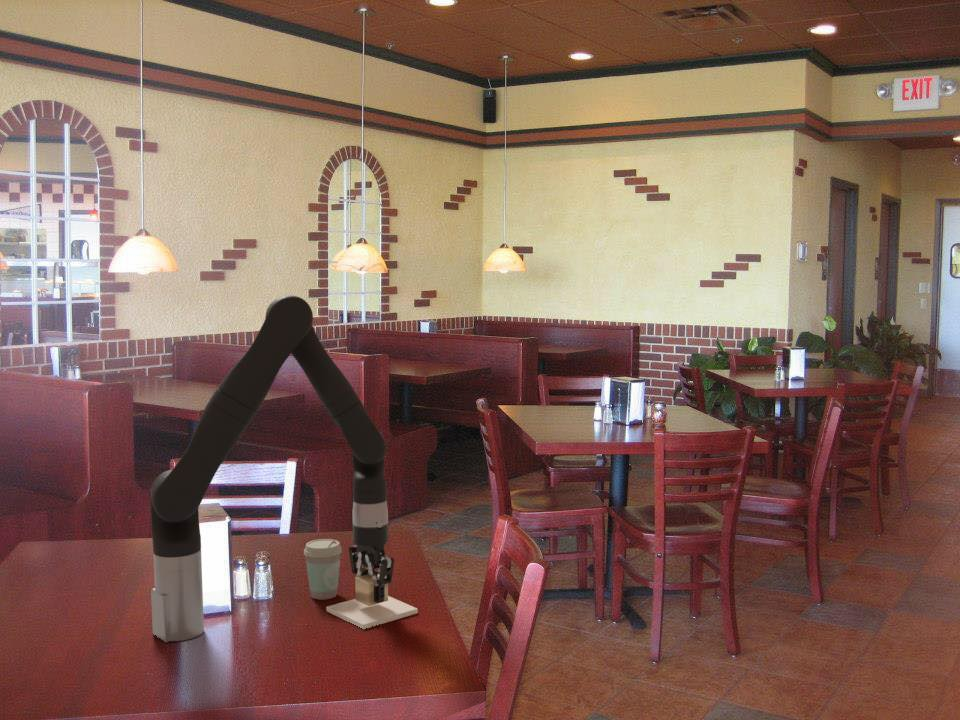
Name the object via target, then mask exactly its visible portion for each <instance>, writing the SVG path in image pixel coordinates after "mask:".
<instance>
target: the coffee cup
mask: <svg viewBox="0 0 960 720" xmlns="http://www.w3.org/2000/svg"><path fill="white" fill-rule="evenodd" d="M342 552H343V550H342V546H341V543H340V541H338V540H336V539H332V538H321V539H320V538H319V539H314V540H311V541H308V542H306V544H305V548H304V549H303V555H304V556H305V565H306V571H307V578H308V585H309V592H310V597H311V598H312V599H314V600H318V601H319V600H321V601H322V600H325V601H326V600H331V599H333V598H335V597H336V596H338V586H339V578H340V577H339V576H340V564H341V555H342Z"/></svg>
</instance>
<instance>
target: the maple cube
mask: <svg viewBox="0 0 960 720" xmlns="http://www.w3.org/2000/svg"><path fill="white" fill-rule="evenodd" d="M379 576H380V574H378V575H377V577H378V580H379ZM385 577H386V578H387V576H385ZM354 579H355V580H354V582H355V584H354V585H355V588H354V589H355V599H356V600H357V601H359V602H361V603H363V604H365V605H368V606H371V605H375V604H378V603H376V602H374V586H375V585H374V582H373V577H372V576H371V575H370V573H369V574H367V575H363V576H359V577H357V576H355V577H354ZM384 589H385V598H384V601H383V602H385V601H388V596H389V584H385V586H384ZM380 603H382V602H380Z"/></svg>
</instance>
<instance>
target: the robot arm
mask: <svg viewBox="0 0 960 720" xmlns="http://www.w3.org/2000/svg"><path fill="white" fill-rule="evenodd" d="M313 313H314V312H313V310H312V307H311V306H310V305H309V303H308V302H307V301H306V300H305V299H304V298H301V297H300V296H297V295H283V296H280V297H277V298H276V299H274V300H273V301H272V302H271V303H270V304H269V305H268V306H267V308H266V312H265V319H264V320H263V321H264V322H263V324H262V325H261V327H260V329H259V331H258V333H257V334H256V337H255V338H254V340H253V342H252V344H251V345H250V346H249V348H248V350H247V351H246V352H245V354H244V355H242V357H241V358H240V359H239V360H238V361H237V363H236V364H235V365H234V366H233V367H232V368H231V369H230V370H229V371H228V373H227V374H226V375H225V376H224V378H223V379H222V381H221V382H220V383H219V385H218V386H217V388H216V389H215V391H214V392H213V394H212V395H211V397H210V398H209V401H207V404H206V405H205V407H204V409H203V411H202V413H201V416H200V417H199V420H198V422H197V425H196V426H195V429H194V431H193V433H192V434H193V435H192V437H191V440H190V442H189V444H188V446H187V448H186V450H185V452H184V453H183V455H182V456H181V457H180V459H179V460H178V461H177V463H176V465H174V467H173V468H172V469H169V470H166V471H163V472H161V473H160V474H159V475H158V476H156V478H155V479H154V481H153V482H152V484H151V488H150V495H149V498H150V499H149V500H150V520H151V535H152V536H151V537H152V551H153V552H152V553H153V574H154V575H153V576H154V587H153V588H151V590H150V596H151V597H150V598H151V599H150V600H151V619H152V620H151V621H152V622H151V623H152V624H151V625H152V635H153V634H154V635H153V636H155V635H156V636H157V637H156V636H155V637H156V638H158V639H159V638H160V639H161V641H162V640H163V641H164V642H163V641H162V642H163V643H169V641H170V642H182V641H186V640H190V639H194V638H197V637H199V636H200V635H202V634H203V633H204V631H205V625H204V624H205V618H204V598H203V597H204V595H203V594H204V593H203V570H202V568H203V566H202V542H201V541H202V539H201V538H202V537H201V529H200V520H199V519H200V518H199V517H200V516H199V508H200V506H201V503H202V502H203V498H204V497H205V495H206V494H207V491H208V490H209V487H210V485H211V483H212V481H213V479H214V478H215V475H216V474H217V472H218V470H219V468H220V466H221V465H222V463H223V462H224V461H225V460H226V458H227V457H228V455H230V454H231V451H232V450H233V448H234V447H235V445H236V444H238V443H237V442H238V441H239V440H240V438H241V437H242V435H243V434H244V432H245V431H246V430H247V428H248V427H249V425H250V424H251V422H252V421H253V419H254V418H255V416H256V414H257V412H258V411H259V410H260V408H261V406H262V404H263V402H264V401H265V399H266V398H267V395H268V393H269V391H270V390H271V388H272V386H273V383H274V381H275V379H276V377H277V376H278V373H279V372H280V370H281V368H282V366H283V365H284V364H285V363H286V361H287V359H288V358H289V357H290V355H292V356H293V358H294V360H296V363H298V365H299V366H300V368H301V369H302V371H303V372H304V374H305V376H306V377H307V379H308V381H309V383H310V384H311V385H312V388H313V389H314V391H315V393H316V395H317V396H318V398H319V400H320V402H321V403H322V404H323V406H324V408H325V410H326V411H327V413H328V414H329V417H331V419H332V420H333V422H334V423H335V424H336V426H337V427H338V428H339V430H340V431H341V434H342V436H343V437H344V439H345V441H346V443H347V445H348V446H349V448H350V450H351V454H352V466H353V484H352V493H353V494H352V496H353V497H352V499H353V504H352V510H351V511H352V543H353V544H354V545H351V546H348V553H349V554H348V555H349V561H350V567H351V573H352V574H353V575H356V577H359V576H363V575H367V574H370V575H371V576H372V577H373V582H374V585H375V586H374V602H376V603H380V602H383V601H384V598H385V589H384V586H385V584H388V585H389V584H391V583H392V579H393V572H394V565H395V558H394V557H393V556H392V557H388V556H387V555H386V552H385V546H386V545H387V544H388V542H389V510H388V509H389V508H388V503H387V502H388V500H387V481H386V475H385V455H386V454H387V453H386V452H387V447H388V446H387V441H386V439H385V437H384V435H383V433H382V432H381V431H380V430H379V429H378V428H377V426H376V424H374V422H373V420H372V418H371V417H370V415H368V413H367V411H366V409H365V406H364V404H363V402H362V400H361V399H360V397H359V395H358V394H357V392H356V391H355V389H354V388H353V386H352V384H351V383H350V382H349V380H348V378H347V377H346V375H344V373H343V372H342V371H341V369H340V368H339V367H338V365H337V364H336V363H335V362H334V360H333V359H332V358H331V357H330V355H329V354H328V352H327V351H326V349H325V347H324V346H323V344H322V342H321V340H320V339H319V337H318V335H317V333H316V330H315V328H314V326H313V322H314V315H313ZM356 563H357V564H356ZM376 569H378V570H376ZM378 574H379V575H380V576H379V580H378V577H377V575H378ZM386 577H387V578H386ZM160 639H159V640H160Z"/></svg>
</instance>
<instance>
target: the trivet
mask: <svg viewBox="0 0 960 720" xmlns="http://www.w3.org/2000/svg"><path fill="white" fill-rule="evenodd" d="M325 611H326V612H327V613H329V614H331V615H333V616H336V617H337V618H339V619H341V620H344V621H345V622H347V623H349V622H350V623H349V624H351V623H352V624H351V625H353V624H354V626H355V625H356V626H355V627H357V626H358V627H357V628H359V627H360V628H359V629H361V628H362V630H366V628H367V629H370V628H372V626H373V627H376V625H377V626H379V624H380V625H382V624H386V623H389V622H393V621H396V620H399V619H403V618H406V617H409V616H413V615H417V614H418V608H417V607H414V606H413V605H410V604H408V603H406V602H403V601H401V600H399V599H396V598H394V597H392V596H390V595H388V601H385V602H382V603H378V604H375V605H371V606H368V605H365V604H363V603H361V602H359V601H357V600H356V598H354V599H349V600H346V601H342V602H338V603H336V604H331V605H327V606H326V610H325Z"/></svg>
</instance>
